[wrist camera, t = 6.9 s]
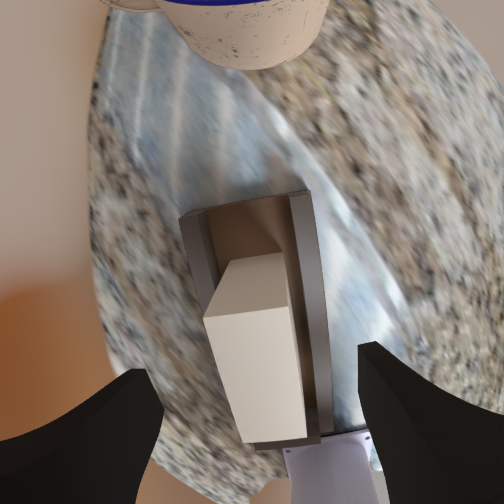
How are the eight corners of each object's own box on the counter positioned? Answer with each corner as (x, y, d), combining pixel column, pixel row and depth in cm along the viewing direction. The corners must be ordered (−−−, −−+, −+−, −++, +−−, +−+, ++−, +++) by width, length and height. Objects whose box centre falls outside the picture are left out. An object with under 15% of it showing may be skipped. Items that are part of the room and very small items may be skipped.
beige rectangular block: (283, 251, 17) (288, 306, 10) (299, 355, 18) (307, 437, 12) (230, 260, 17) (202, 317, 10) (253, 361, 19) (243, 443, 12)
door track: (332, 403, 21) (339, 440, 17) (243, 413, 21) (238, 451, 18) (308, 189, 17) (318, 195, 13) (189, 211, 18) (166, 223, 14)
